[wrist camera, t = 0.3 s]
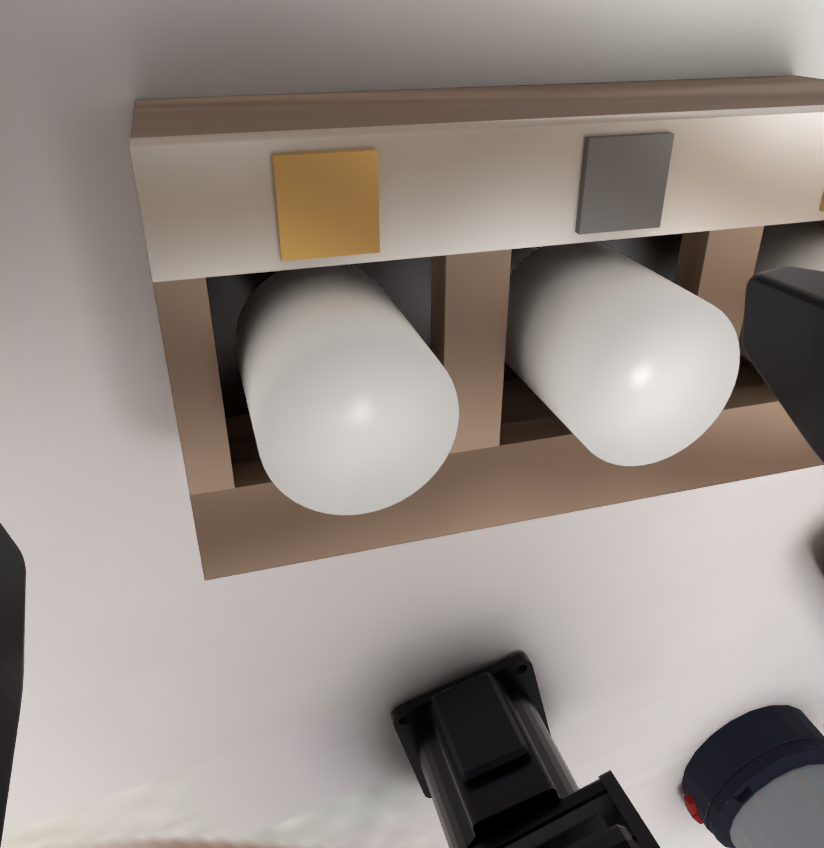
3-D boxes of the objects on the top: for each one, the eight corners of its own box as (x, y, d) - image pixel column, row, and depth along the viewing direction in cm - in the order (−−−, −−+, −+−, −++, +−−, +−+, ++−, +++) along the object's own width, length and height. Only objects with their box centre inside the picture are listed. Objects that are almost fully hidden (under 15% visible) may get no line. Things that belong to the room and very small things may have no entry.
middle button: (621, 371, 22) (720, 451, 18) (489, 390, 21) (564, 478, 17) (641, 230, 20) (757, 288, 16) (497, 244, 19) (583, 308, 15)
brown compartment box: (731, 362, 29) (880, 458, 23) (191, 439, 24) (205, 586, 18) (794, 75, 24) (1004, 104, 18) (134, 99, 20) (128, 149, 14)
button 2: (398, 402, 20) (456, 497, 16) (244, 424, 19) (267, 530, 15) (397, 252, 18) (461, 322, 14) (224, 268, 17) (245, 346, 13)
